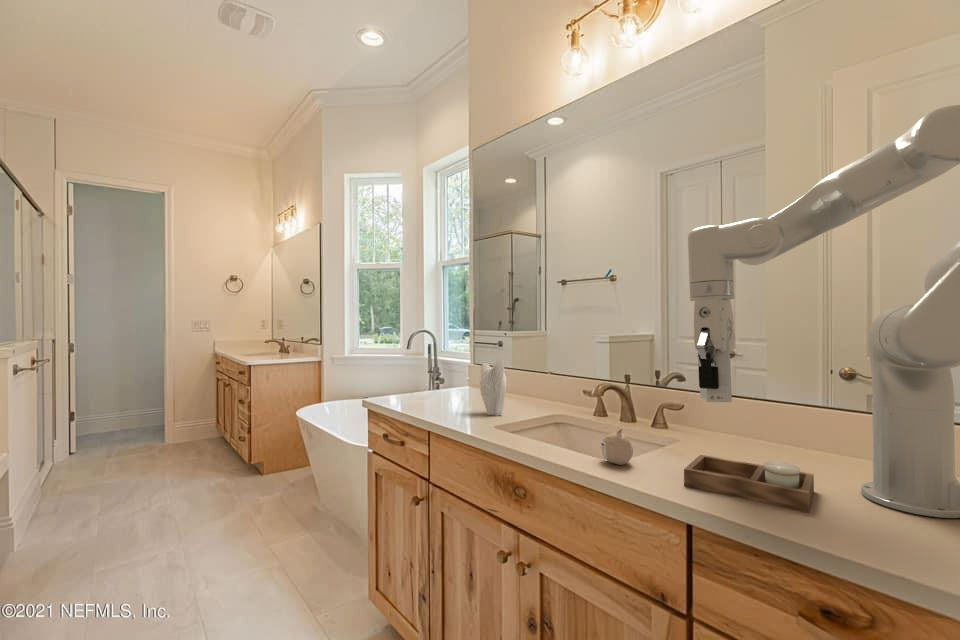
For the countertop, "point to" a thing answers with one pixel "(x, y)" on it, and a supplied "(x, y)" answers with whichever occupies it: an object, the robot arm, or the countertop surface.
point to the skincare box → (720, 379)
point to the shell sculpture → (493, 387)
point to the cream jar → (782, 474)
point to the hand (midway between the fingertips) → (715, 385)
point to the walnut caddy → (747, 482)
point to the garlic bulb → (617, 448)
